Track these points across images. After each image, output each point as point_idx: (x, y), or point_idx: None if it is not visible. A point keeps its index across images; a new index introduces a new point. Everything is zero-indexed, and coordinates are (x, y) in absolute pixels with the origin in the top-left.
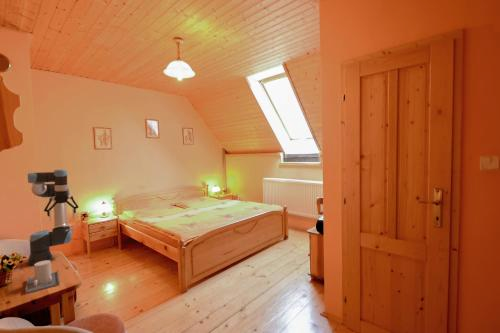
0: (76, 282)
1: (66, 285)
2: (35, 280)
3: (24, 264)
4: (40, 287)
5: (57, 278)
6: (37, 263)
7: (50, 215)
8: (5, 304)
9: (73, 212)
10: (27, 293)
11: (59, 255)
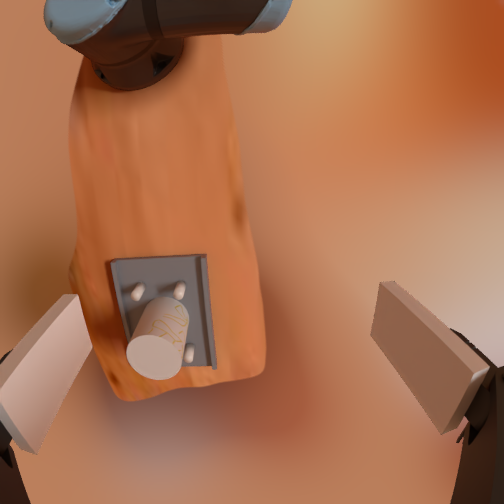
0: (261, 371)
1: (235, 375)
2: None
3: None
4: None
5: (209, 343)
6: (135, 352)
7: (57, 405)
8: (112, 385)
9: (420, 389)
10: None
11: None
